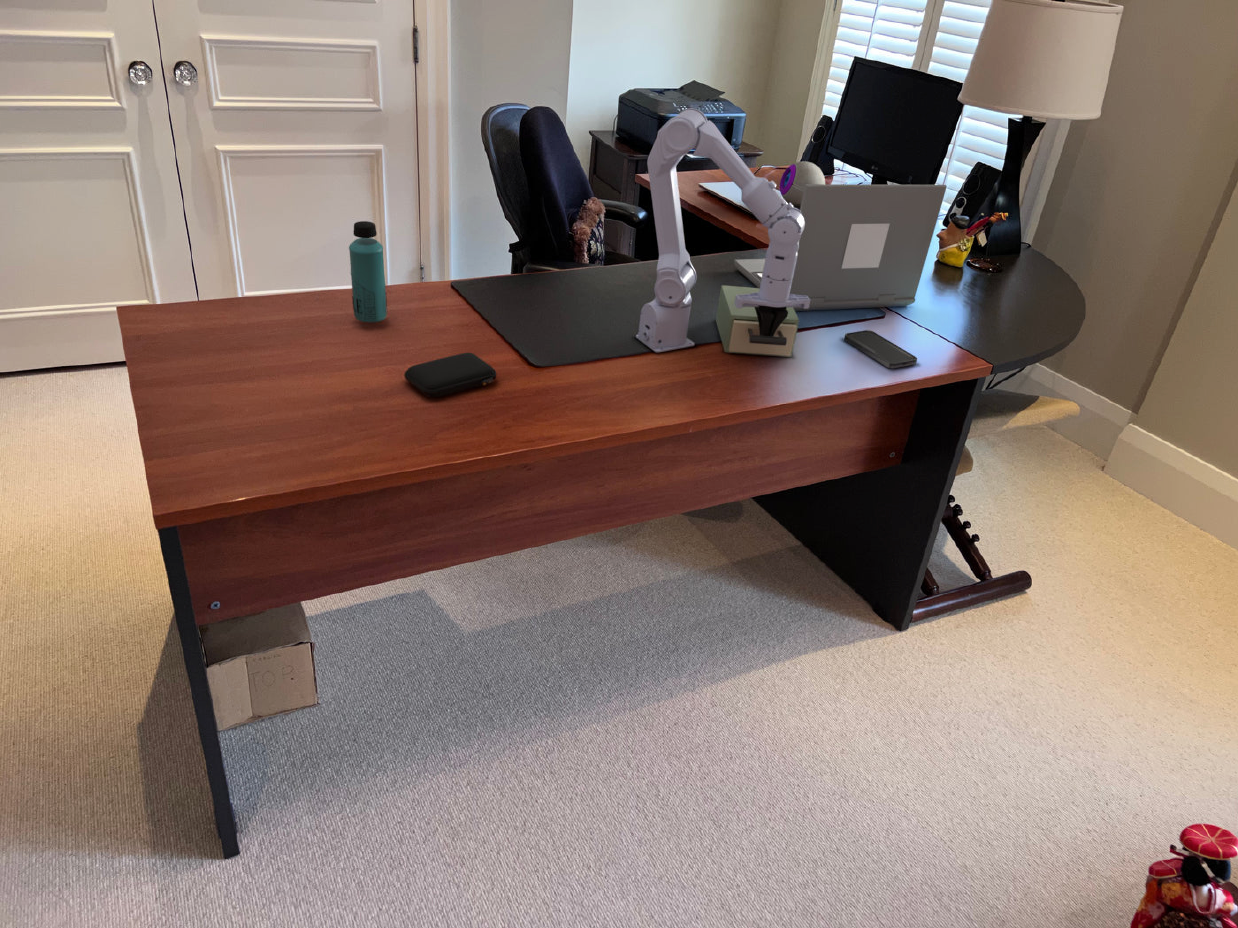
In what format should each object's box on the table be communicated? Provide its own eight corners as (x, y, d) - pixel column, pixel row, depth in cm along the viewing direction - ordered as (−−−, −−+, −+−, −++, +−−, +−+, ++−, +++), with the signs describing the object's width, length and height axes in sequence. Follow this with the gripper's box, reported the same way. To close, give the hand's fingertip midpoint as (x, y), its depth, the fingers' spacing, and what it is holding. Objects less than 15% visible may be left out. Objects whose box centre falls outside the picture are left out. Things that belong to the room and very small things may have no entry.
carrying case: (431, 406, 152) (504, 386, 161) (430, 390, 151) (505, 370, 159) (400, 380, 159) (472, 362, 168) (399, 365, 157) (472, 347, 166)
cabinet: (791, 357, 183) (799, 320, 178) (724, 352, 182) (731, 315, 177) (777, 325, 196) (784, 290, 191) (715, 320, 195) (721, 285, 190)
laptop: (855, 266, 233) (883, 153, 218) (913, 307, 212) (948, 186, 197) (732, 269, 222) (752, 151, 207) (781, 313, 202) (807, 186, 186)
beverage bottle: (394, 321, 179) (390, 222, 169) (373, 333, 174) (367, 231, 163) (367, 313, 181) (362, 215, 171) (346, 324, 176) (338, 223, 165)
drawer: (795, 367, 177) (801, 337, 173) (732, 362, 176) (738, 333, 172) (777, 326, 193) (783, 298, 190) (720, 321, 192) (725, 294, 189)
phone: (870, 329, 195) (919, 359, 185) (868, 334, 196) (918, 364, 185) (842, 334, 192) (891, 364, 181) (841, 339, 192) (889, 369, 182)
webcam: (770, 205, 273) (780, 154, 265) (811, 208, 275) (822, 158, 266) (781, 219, 262) (791, 167, 254) (823, 222, 264) (835, 170, 256)
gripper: (805, 268, 175) (791, 332, 182) (734, 267, 171) (723, 332, 179) (819, 281, 169) (804, 347, 176) (746, 281, 166) (734, 348, 173)
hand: (764, 341), depth 177 cm, fingers closed, pressing on drawer
